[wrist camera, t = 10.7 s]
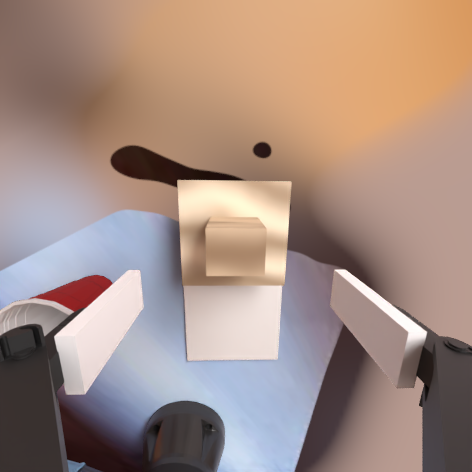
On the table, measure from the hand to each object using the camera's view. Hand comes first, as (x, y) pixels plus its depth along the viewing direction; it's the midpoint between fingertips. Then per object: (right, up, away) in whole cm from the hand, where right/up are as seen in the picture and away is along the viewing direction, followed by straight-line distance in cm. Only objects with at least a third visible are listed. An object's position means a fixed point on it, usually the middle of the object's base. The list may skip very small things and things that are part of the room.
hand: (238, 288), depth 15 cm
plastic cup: (-23, -6, +22) cm, 32 cm away
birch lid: (0, +4, +15) cm, 16 cm away
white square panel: (-1, -11, +24) cm, 26 cm away
